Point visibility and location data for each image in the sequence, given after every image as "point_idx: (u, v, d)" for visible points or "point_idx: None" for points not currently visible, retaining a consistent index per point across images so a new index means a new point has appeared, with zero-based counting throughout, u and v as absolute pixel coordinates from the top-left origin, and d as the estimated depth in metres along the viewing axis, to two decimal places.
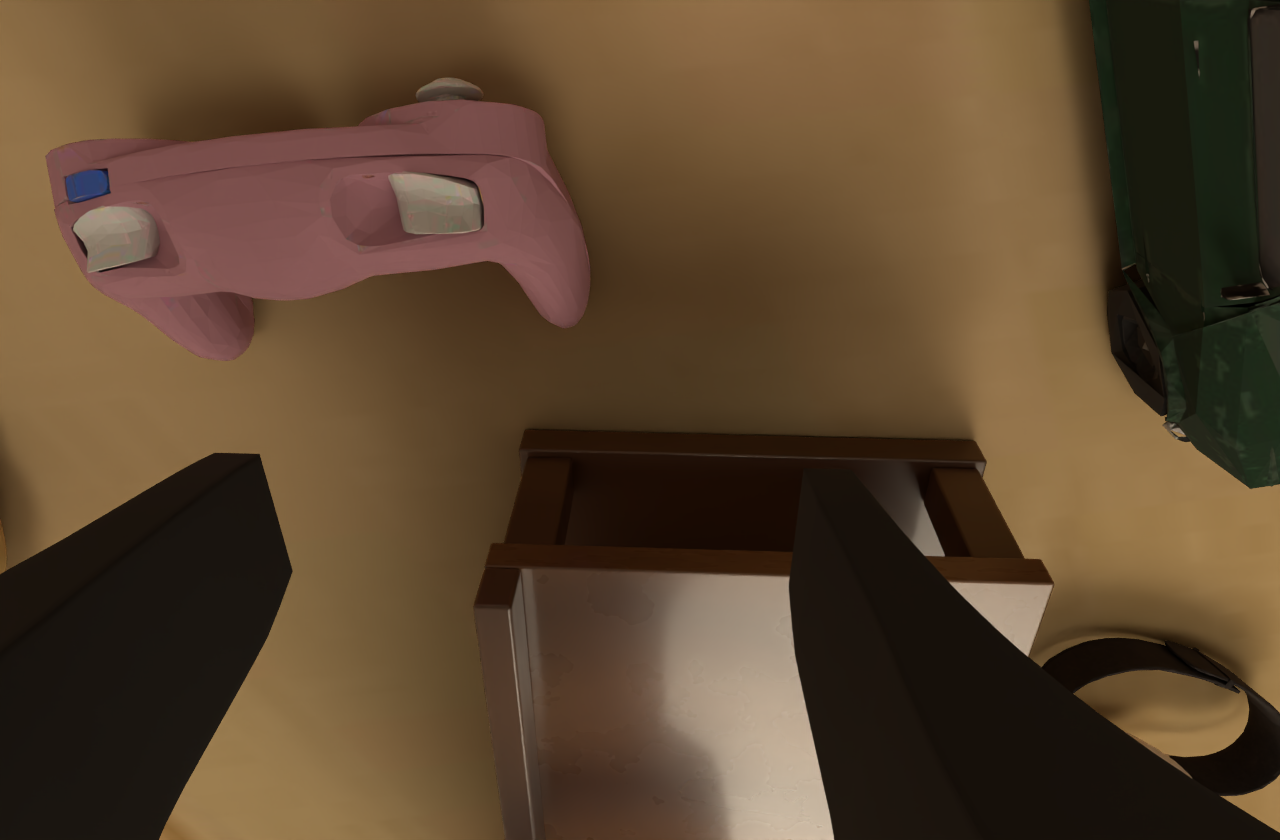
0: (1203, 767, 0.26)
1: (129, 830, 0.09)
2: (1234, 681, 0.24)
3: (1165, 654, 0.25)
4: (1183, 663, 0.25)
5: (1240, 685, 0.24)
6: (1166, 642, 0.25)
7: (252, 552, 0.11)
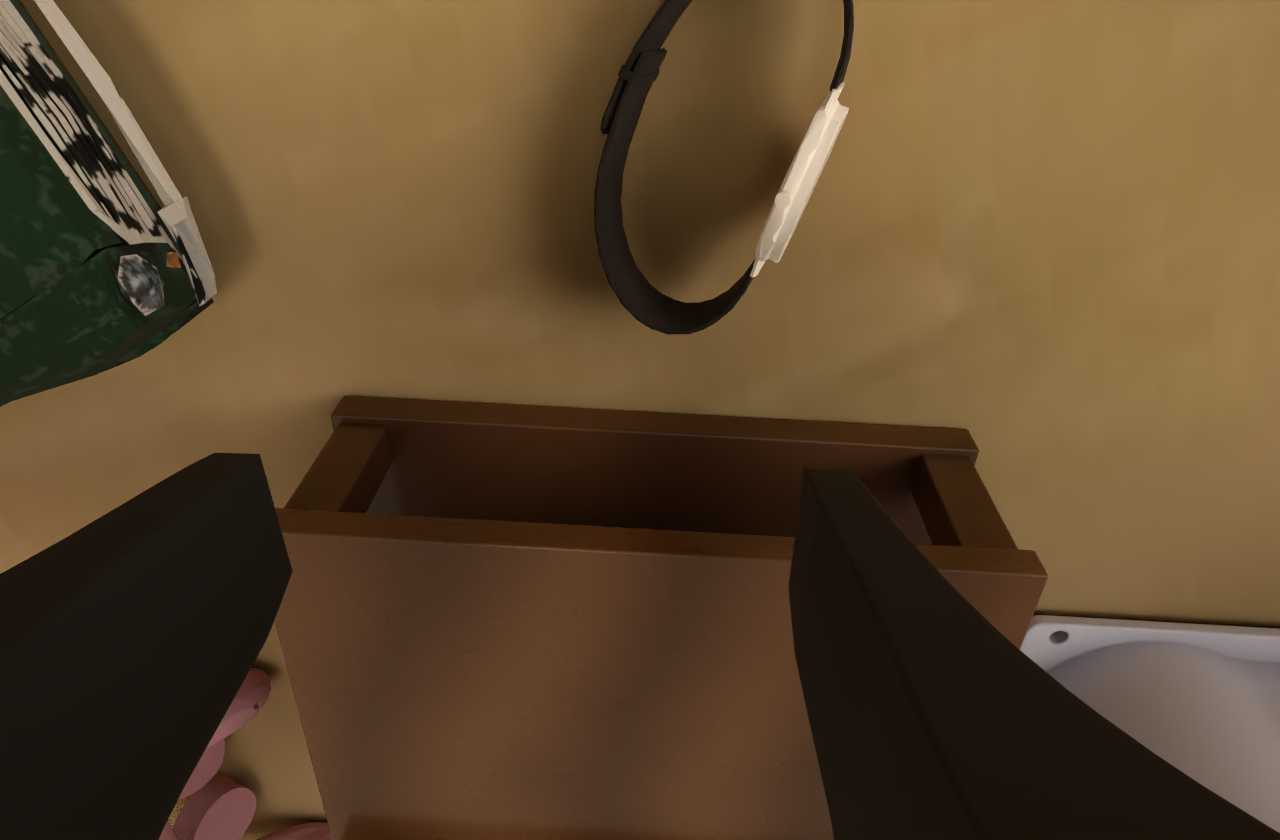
0: None
1: (129, 830, 0.09)
2: (625, 64, 0.16)
3: None
4: None
5: (631, 54, 0.16)
6: None
7: (252, 552, 0.11)
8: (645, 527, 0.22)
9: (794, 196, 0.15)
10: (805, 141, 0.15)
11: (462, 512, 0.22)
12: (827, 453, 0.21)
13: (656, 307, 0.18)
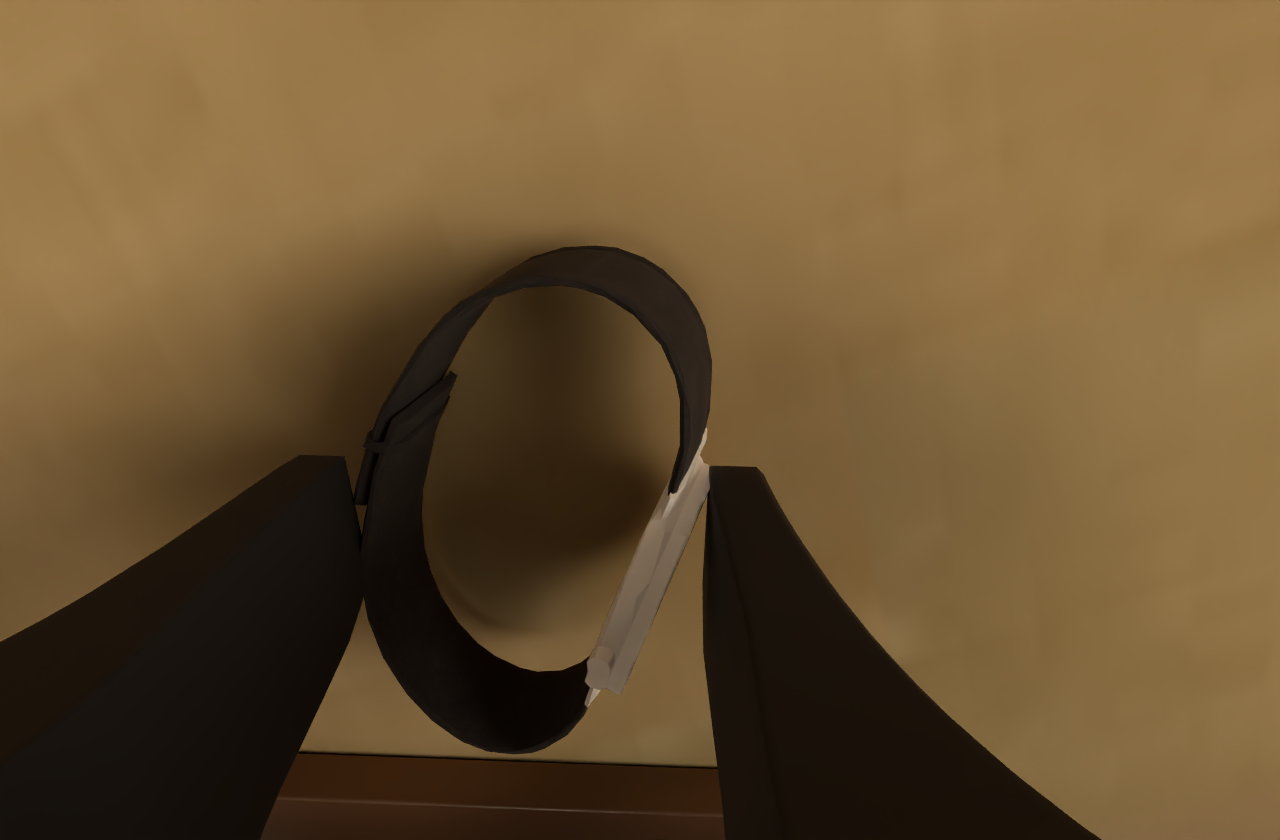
0: None
1: (235, 834, 0.09)
2: (372, 431, 0.10)
3: None
4: None
5: (376, 421, 0.10)
6: None
7: (338, 555, 0.11)
8: None
9: (621, 650, 0.10)
10: (631, 574, 0.10)
11: None
12: None
13: (478, 695, 0.13)
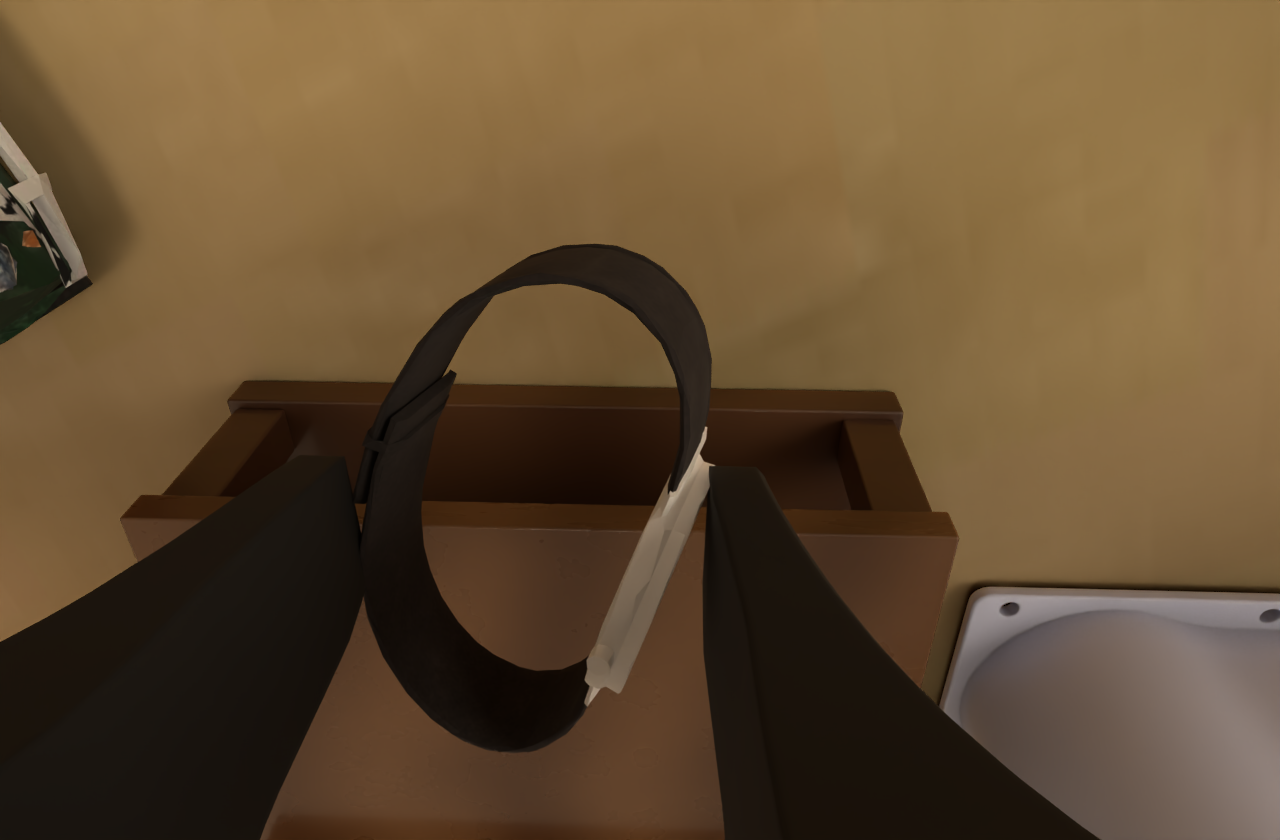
0: None
1: (234, 835, 0.09)
2: (372, 429, 0.10)
3: None
4: None
5: (376, 419, 0.10)
6: None
7: (338, 555, 0.11)
8: None
9: (621, 647, 0.10)
10: (630, 573, 0.10)
11: None
12: (744, 421, 0.20)
13: (477, 694, 0.13)
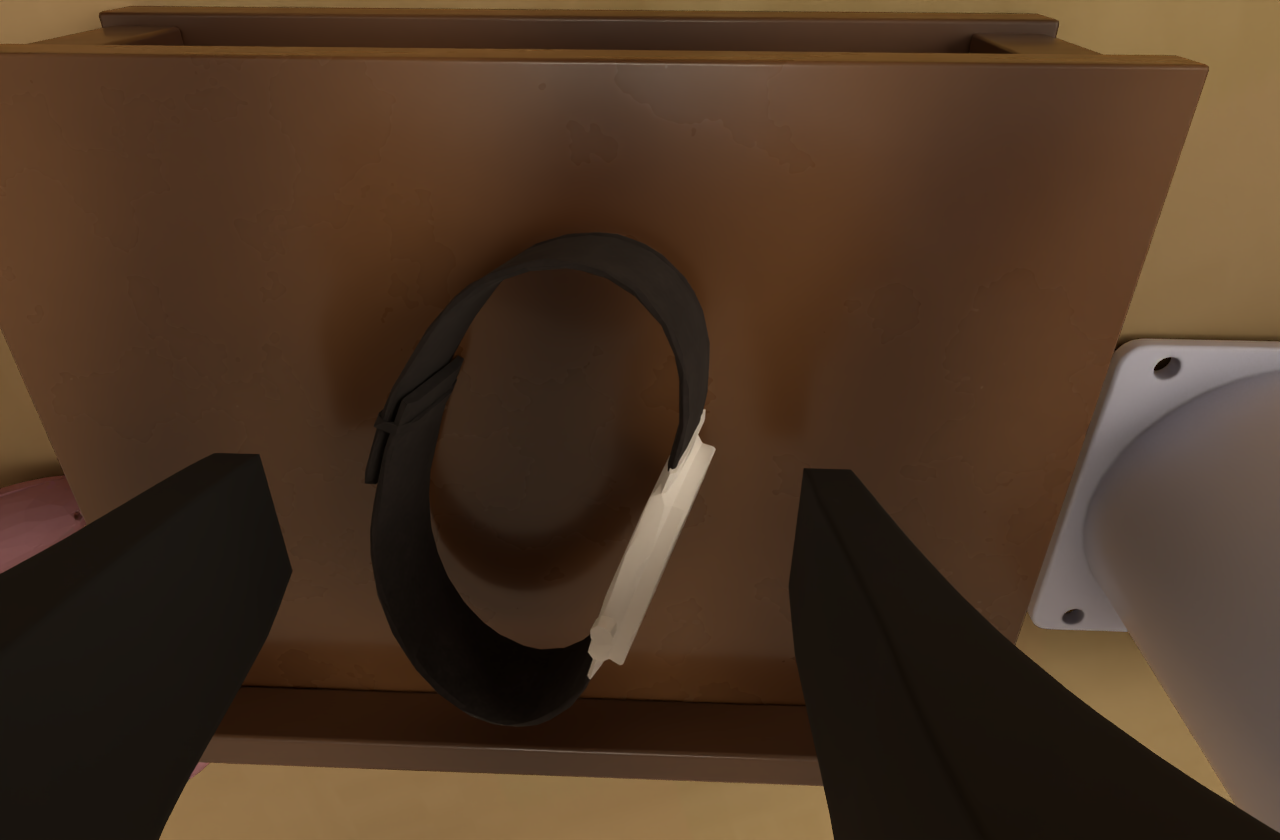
0: None
1: (129, 830, 0.09)
2: (383, 411, 0.11)
3: None
4: None
5: (387, 401, 0.11)
6: None
7: (252, 552, 0.11)
8: None
9: (623, 619, 0.10)
10: (632, 547, 0.10)
11: None
12: (830, 39, 0.14)
13: (483, 671, 0.14)
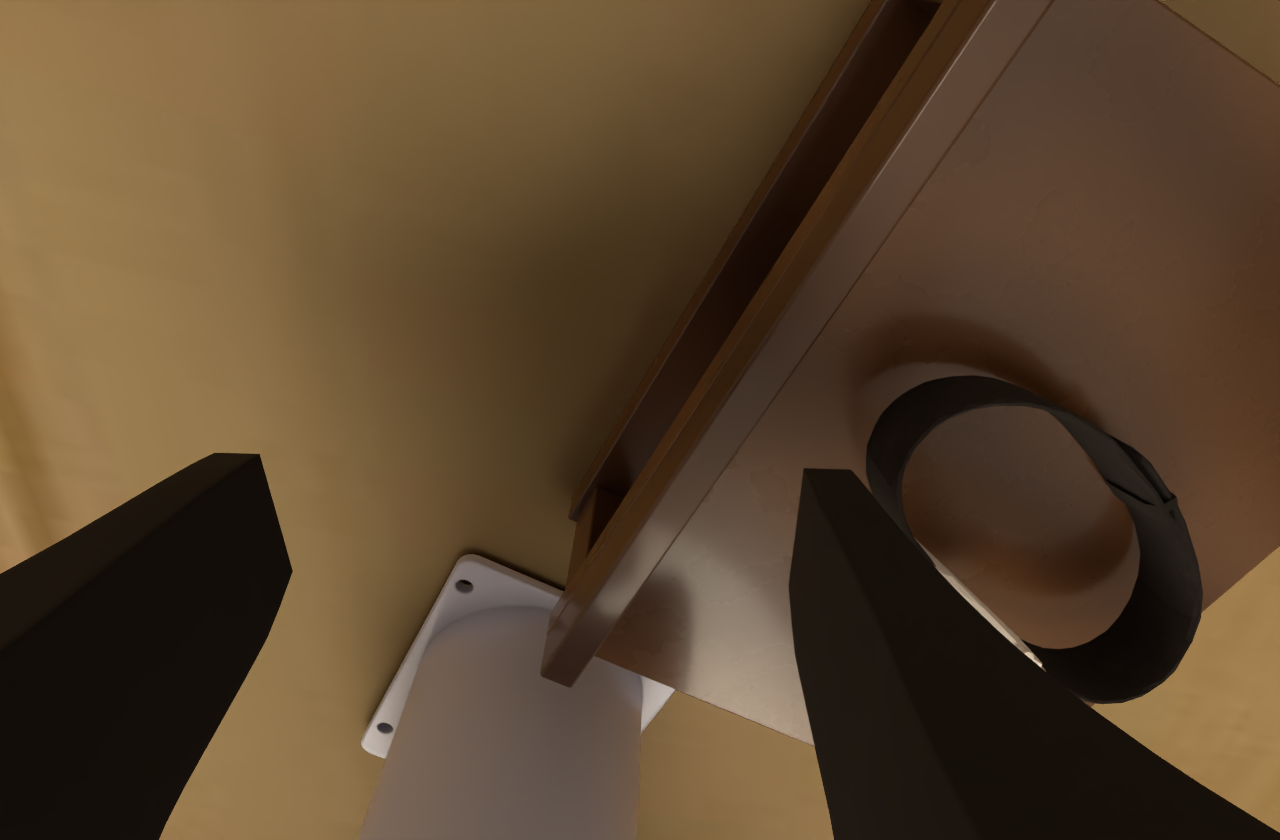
0: (1044, 656, 0.17)
1: (129, 830, 0.09)
2: (1176, 504, 0.15)
3: None
4: None
5: (1181, 514, 0.15)
6: None
7: (252, 552, 0.11)
8: None
9: None
10: (1041, 666, 0.15)
11: None
12: None
13: None
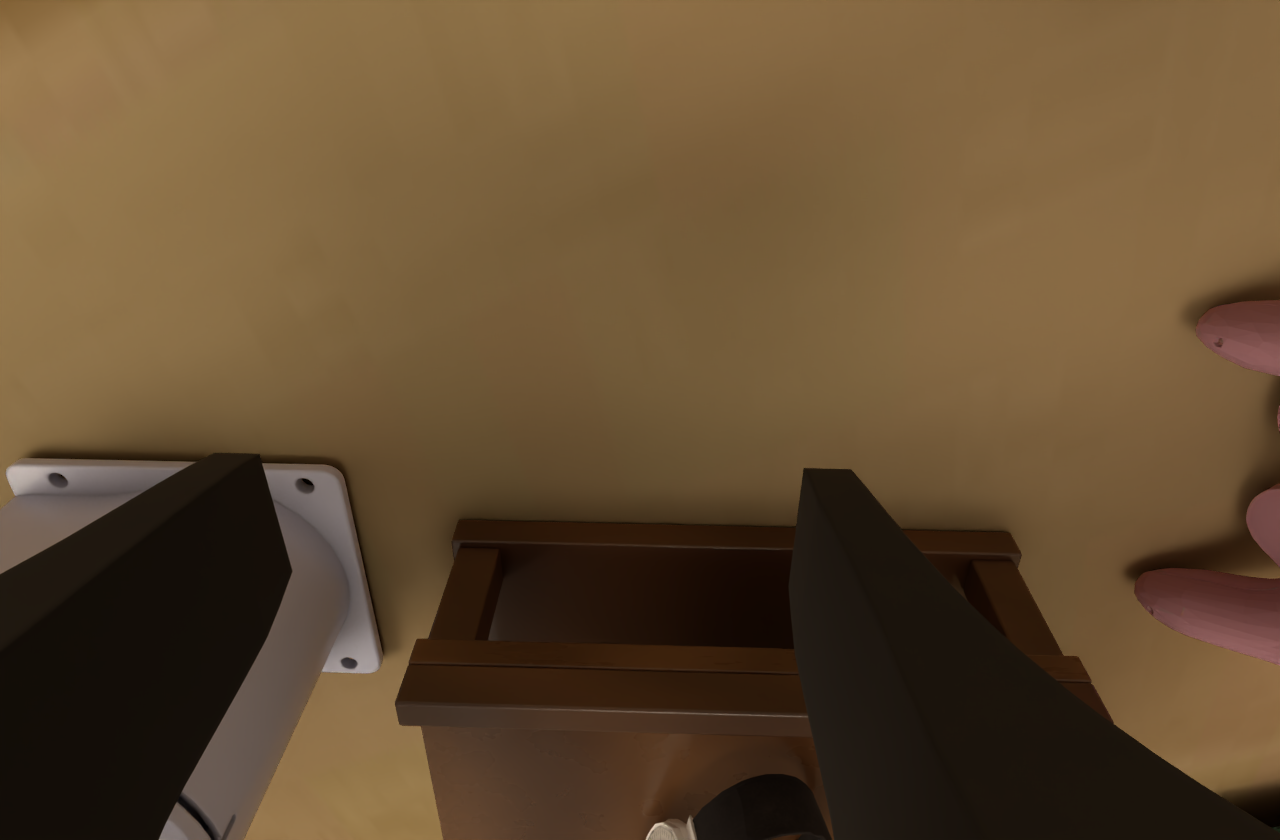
0: None
1: (129, 830, 0.09)
2: None
3: None
4: None
5: None
6: None
7: (252, 552, 0.11)
8: None
9: None
10: None
11: None
12: None
13: None
